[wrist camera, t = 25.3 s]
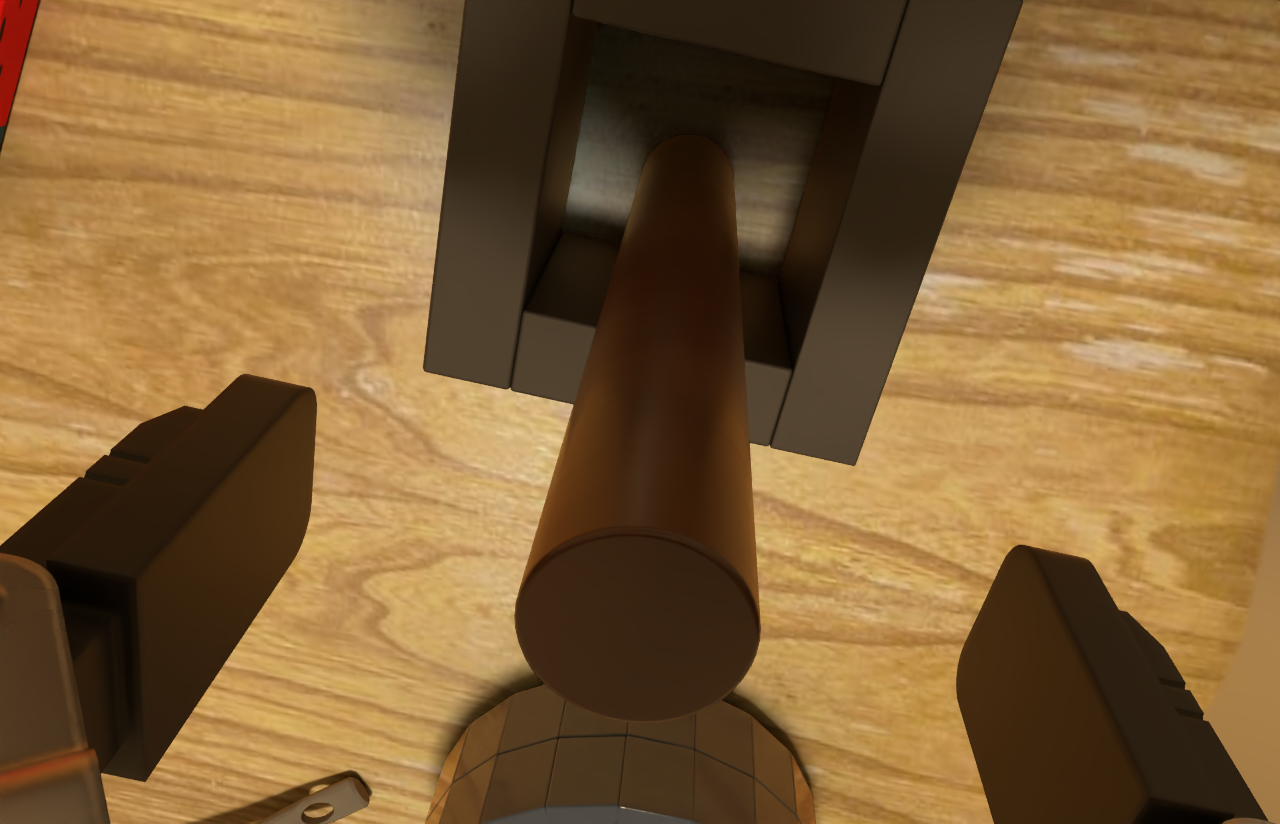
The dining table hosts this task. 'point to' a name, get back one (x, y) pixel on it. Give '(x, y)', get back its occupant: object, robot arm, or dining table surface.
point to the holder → (771, 309)
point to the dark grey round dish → (617, 769)
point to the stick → (654, 470)
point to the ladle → (339, 795)
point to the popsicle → (12, 49)
